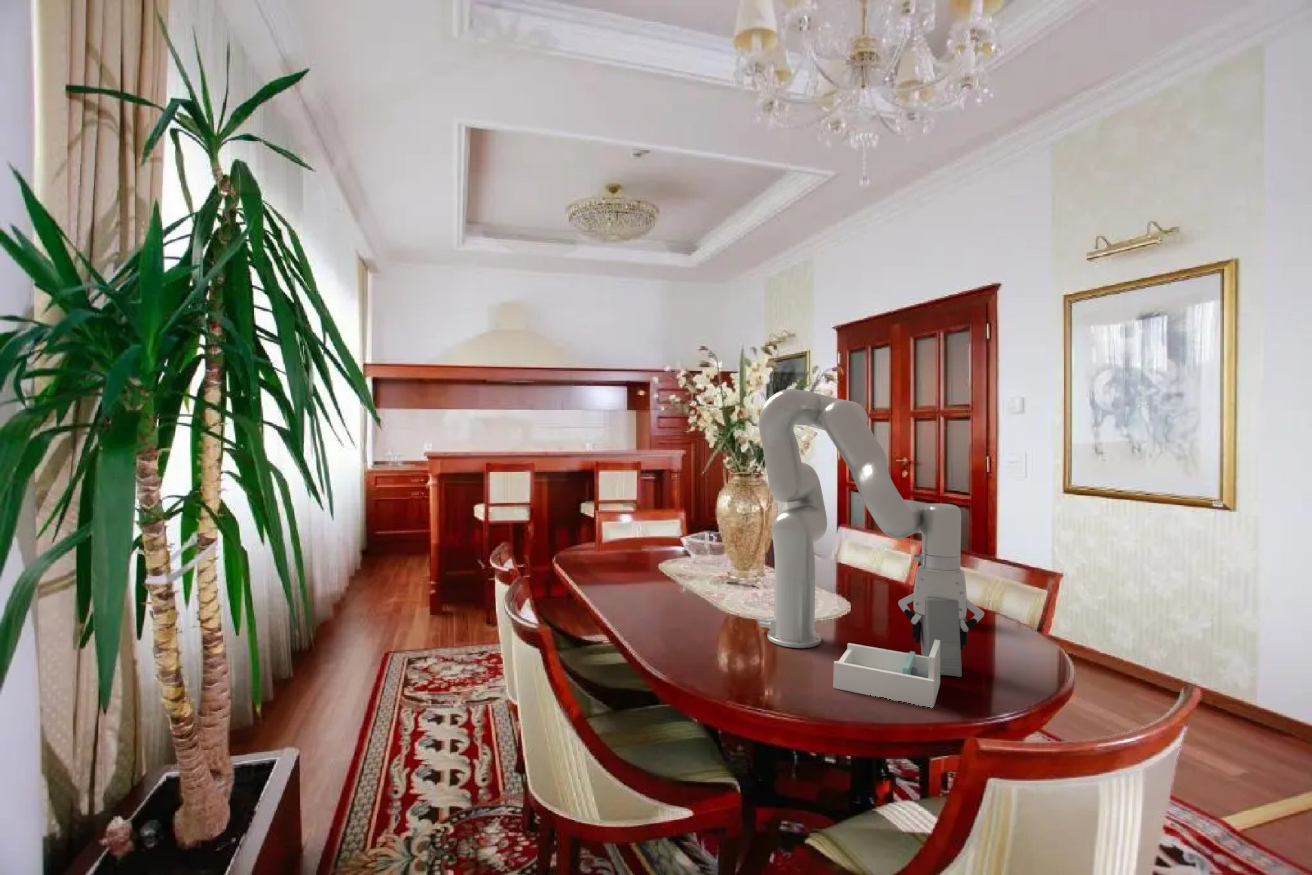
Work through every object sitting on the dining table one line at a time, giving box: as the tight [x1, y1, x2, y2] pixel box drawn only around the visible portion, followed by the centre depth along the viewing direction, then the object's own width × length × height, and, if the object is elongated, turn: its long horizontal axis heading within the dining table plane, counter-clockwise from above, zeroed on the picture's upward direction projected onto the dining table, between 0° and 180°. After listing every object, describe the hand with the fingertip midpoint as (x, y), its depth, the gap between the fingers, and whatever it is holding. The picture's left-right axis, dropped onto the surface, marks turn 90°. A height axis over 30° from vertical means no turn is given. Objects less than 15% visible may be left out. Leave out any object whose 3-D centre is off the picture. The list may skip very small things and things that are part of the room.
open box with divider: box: [832, 640, 941, 709], centre depth 125 cm, size 18×13×9 cm
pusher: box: [903, 650, 929, 678], centre depth 122 cm, size 4×10×5 cm, turn 151°
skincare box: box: [920, 597, 963, 678], centre depth 134 cm, size 8×7×16 cm
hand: (939, 644), depth 134 cm, fingers closed on skincare box, 7 cm apart
